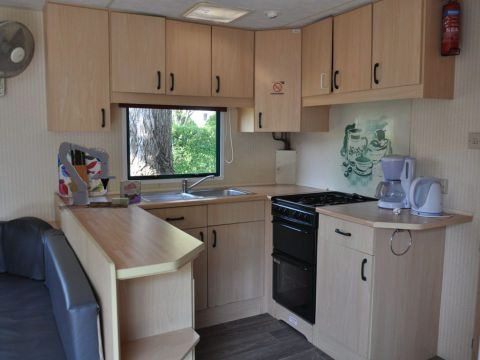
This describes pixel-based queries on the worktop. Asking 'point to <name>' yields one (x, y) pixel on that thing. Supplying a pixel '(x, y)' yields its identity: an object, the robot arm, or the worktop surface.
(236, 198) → the worktop surface
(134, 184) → the candy box
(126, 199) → the sage block
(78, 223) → the worktop surface
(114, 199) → the white block
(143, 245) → the worktop surface
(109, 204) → the walnut chute
